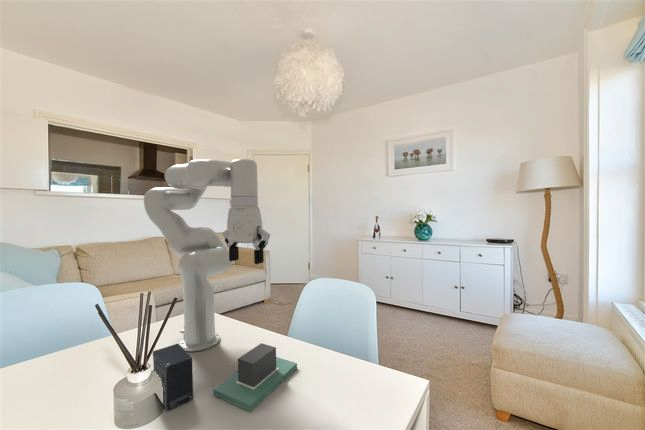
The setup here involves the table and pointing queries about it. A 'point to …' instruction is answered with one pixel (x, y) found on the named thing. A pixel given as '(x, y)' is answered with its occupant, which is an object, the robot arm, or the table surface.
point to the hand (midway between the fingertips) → (246, 261)
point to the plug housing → (256, 364)
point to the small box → (174, 375)
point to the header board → (254, 395)
